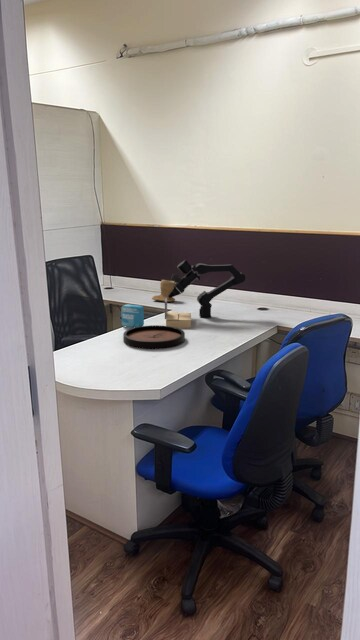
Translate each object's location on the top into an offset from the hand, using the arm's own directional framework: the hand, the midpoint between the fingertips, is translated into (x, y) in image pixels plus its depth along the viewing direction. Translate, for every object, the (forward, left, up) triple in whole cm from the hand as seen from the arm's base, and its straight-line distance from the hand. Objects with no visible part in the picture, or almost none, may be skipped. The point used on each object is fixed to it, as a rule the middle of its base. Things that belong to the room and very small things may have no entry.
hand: (168, 297), depth 294 cm
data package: (+20, +20, -13) cm, 31 cm away
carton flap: (-2, +14, -9) cm, 17 cm away
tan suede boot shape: (+5, -50, -13) cm, 52 cm away
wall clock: (+6, +47, -14) cm, 49 cm away
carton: (-6, +14, -13) cm, 20 cm away
